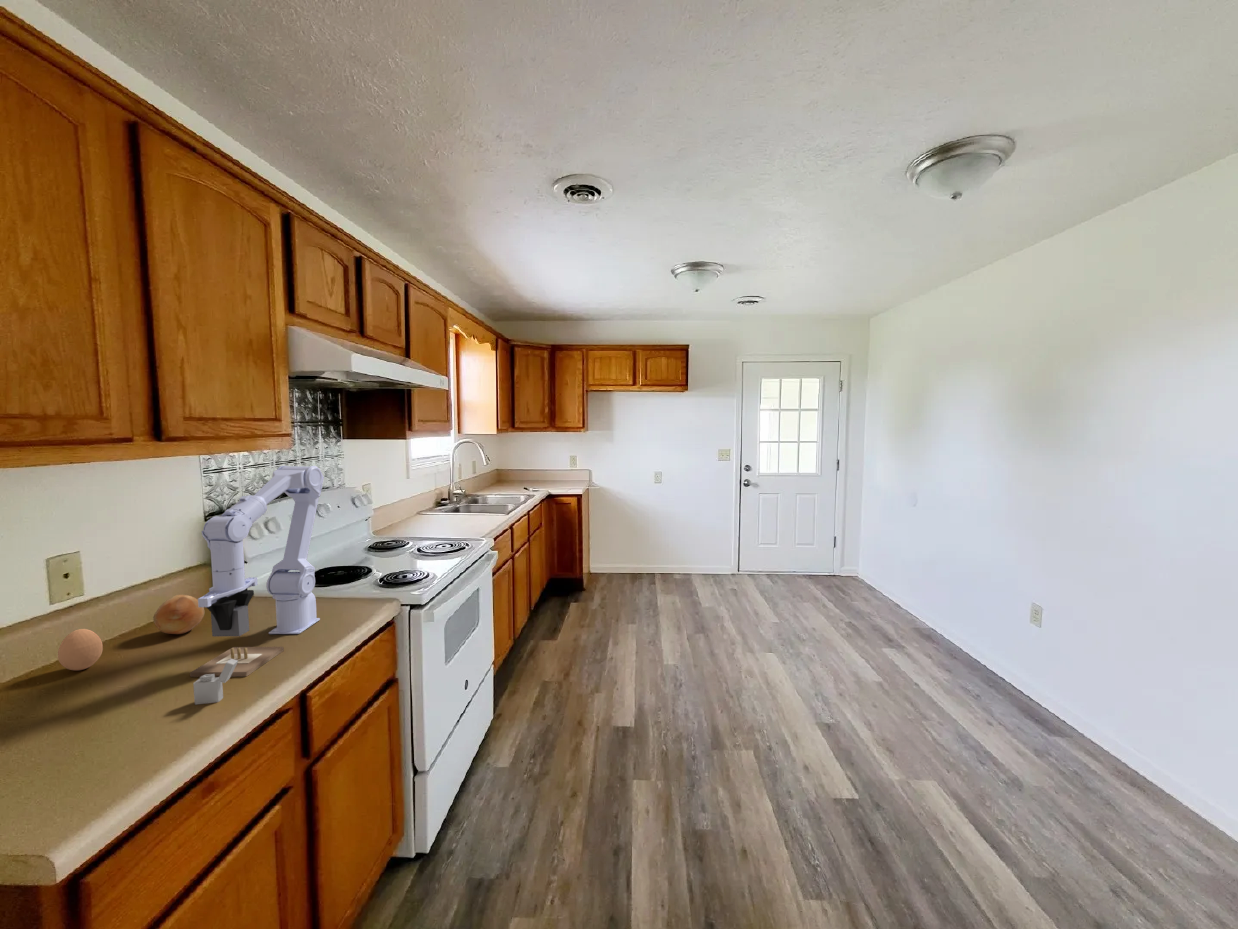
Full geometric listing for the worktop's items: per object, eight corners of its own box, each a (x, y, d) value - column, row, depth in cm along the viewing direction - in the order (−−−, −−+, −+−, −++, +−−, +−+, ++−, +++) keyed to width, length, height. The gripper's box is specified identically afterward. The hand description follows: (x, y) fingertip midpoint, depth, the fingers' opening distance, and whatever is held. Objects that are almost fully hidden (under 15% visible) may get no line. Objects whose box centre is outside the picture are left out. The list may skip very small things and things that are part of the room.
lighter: (194, 704, 93) (191, 665, 92) (199, 699, 95) (197, 661, 94) (235, 700, 95) (233, 661, 94) (240, 695, 96) (238, 657, 96)
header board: (233, 651, 115) (232, 637, 115) (283, 650, 116) (283, 636, 115) (190, 677, 103) (189, 661, 103) (246, 676, 104) (245, 661, 103)
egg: (112, 662, 110) (109, 624, 109) (77, 677, 103) (74, 636, 102) (86, 661, 110) (83, 623, 109) (50, 676, 103) (46, 635, 103)
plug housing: (223, 630, 111) (221, 605, 110) (249, 630, 111) (247, 605, 110) (212, 636, 108) (210, 610, 107) (239, 636, 108) (237, 610, 107)
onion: (147, 636, 123) (145, 598, 123) (195, 622, 132) (193, 587, 131) (164, 644, 119) (161, 605, 118) (212, 629, 128) (210, 593, 127)
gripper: (235, 559, 115) (238, 614, 116) (181, 578, 101) (186, 640, 102) (265, 559, 115) (268, 613, 116) (215, 578, 101) (219, 640, 102)
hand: (231, 626), depth 109 cm, fingers closed on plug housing, 3 cm apart
